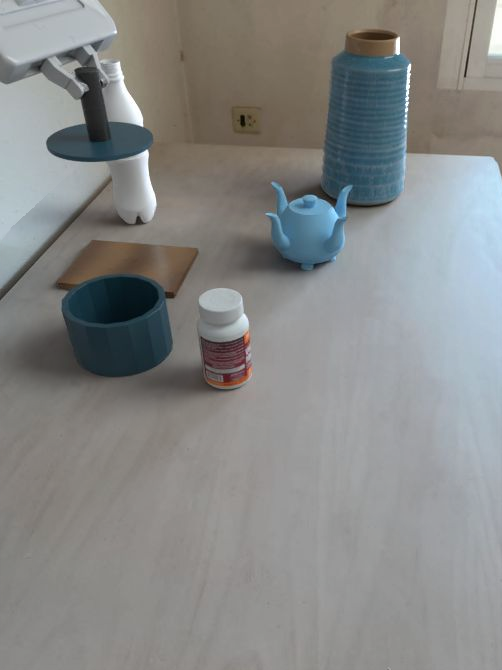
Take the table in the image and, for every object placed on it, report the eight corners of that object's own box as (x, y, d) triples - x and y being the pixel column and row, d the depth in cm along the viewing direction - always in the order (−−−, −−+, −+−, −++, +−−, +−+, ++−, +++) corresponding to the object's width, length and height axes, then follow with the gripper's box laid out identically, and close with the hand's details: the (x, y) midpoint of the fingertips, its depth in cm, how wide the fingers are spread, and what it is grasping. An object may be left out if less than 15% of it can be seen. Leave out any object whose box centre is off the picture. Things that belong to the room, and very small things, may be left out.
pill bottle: (259, 384, 79) (255, 307, 71) (212, 396, 77) (202, 318, 69) (242, 357, 83) (237, 281, 76) (197, 368, 81) (187, 291, 74)
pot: (60, 371, 80) (44, 322, 75) (97, 317, 89) (85, 270, 84) (156, 380, 79) (146, 331, 74) (183, 325, 88) (176, 277, 83)
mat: (58, 288, 95) (56, 282, 94) (93, 245, 105) (92, 239, 104) (174, 298, 93) (173, 292, 93) (198, 253, 104) (198, 248, 103)
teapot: (345, 279, 99) (348, 218, 92) (261, 273, 99) (259, 212, 92) (349, 241, 108) (352, 183, 101) (273, 236, 109) (271, 178, 102)
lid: (29, 163, 78) (6, 81, 72) (73, 127, 88) (56, 53, 81) (134, 170, 77) (120, 88, 71) (167, 134, 87) (156, 58, 80)
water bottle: (154, 227, 110) (127, 68, 93) (113, 226, 110) (78, 66, 93) (162, 210, 115) (138, 56, 98) (123, 209, 115) (92, 54, 98)
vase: (326, 172, 130) (330, 21, 112) (405, 178, 129) (422, 26, 111) (315, 205, 118) (318, 42, 100) (401, 212, 117) (420, 48, 99)
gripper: (-57, -22, 64) (47, 95, 68) (73, -44, 78) (152, 54, 82) (-72, 24, 68) (26, 132, 73) (53, -5, 82) (130, 87, 86)
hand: (94, 90), depth 78 cm, fingers closed on lid, 3 cm apart
